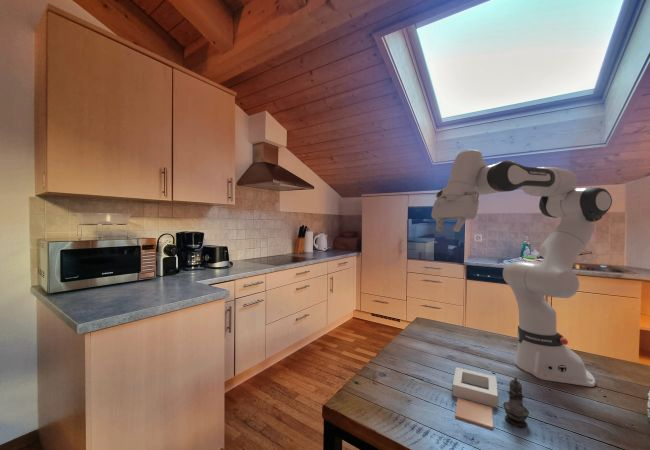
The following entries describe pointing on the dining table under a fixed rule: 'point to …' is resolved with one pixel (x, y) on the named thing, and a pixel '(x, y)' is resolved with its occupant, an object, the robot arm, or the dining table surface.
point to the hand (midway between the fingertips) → (446, 231)
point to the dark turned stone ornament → (516, 406)
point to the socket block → (474, 392)
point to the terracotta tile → (474, 413)
